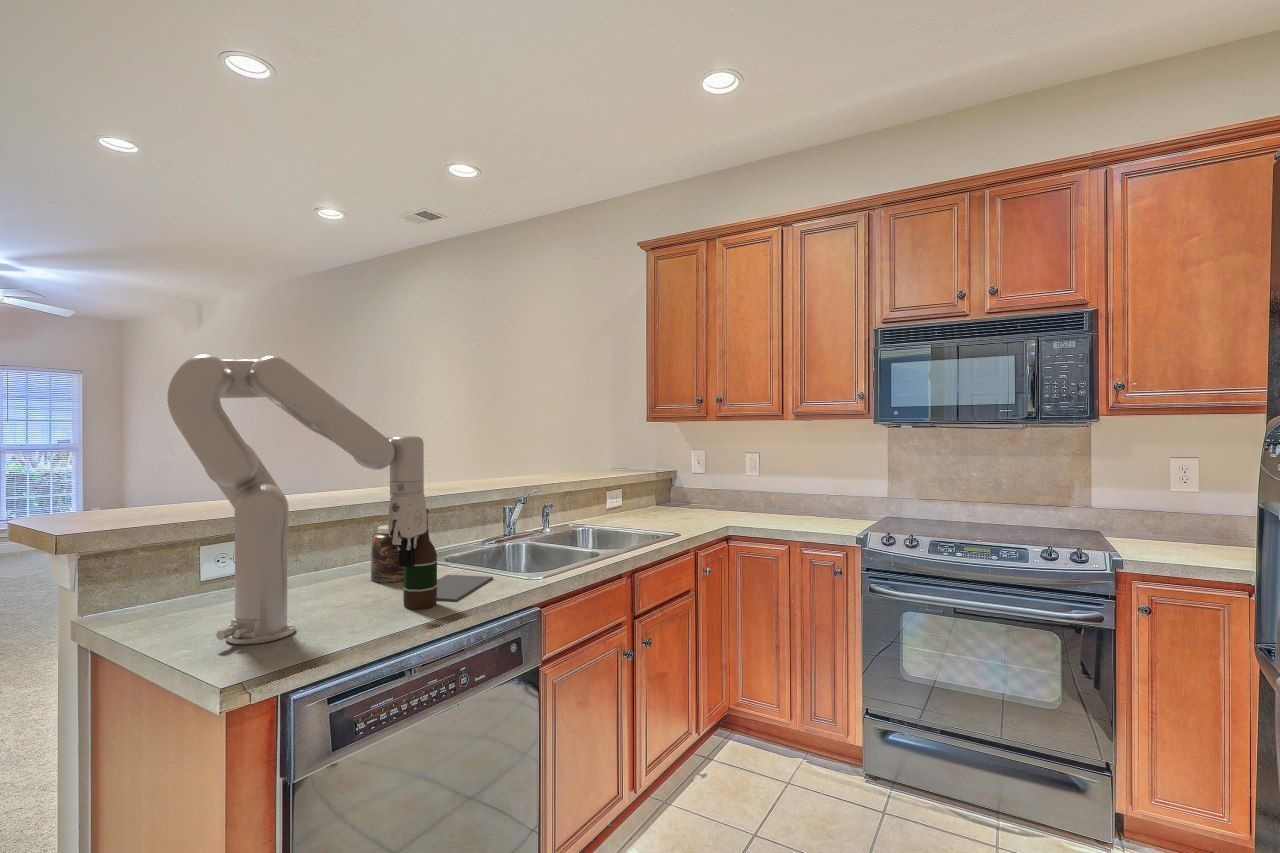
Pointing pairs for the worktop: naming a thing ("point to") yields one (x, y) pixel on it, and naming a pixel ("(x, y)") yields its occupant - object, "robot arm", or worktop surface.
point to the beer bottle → (421, 576)
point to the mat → (458, 586)
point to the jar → (385, 558)
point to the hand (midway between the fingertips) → (407, 565)
